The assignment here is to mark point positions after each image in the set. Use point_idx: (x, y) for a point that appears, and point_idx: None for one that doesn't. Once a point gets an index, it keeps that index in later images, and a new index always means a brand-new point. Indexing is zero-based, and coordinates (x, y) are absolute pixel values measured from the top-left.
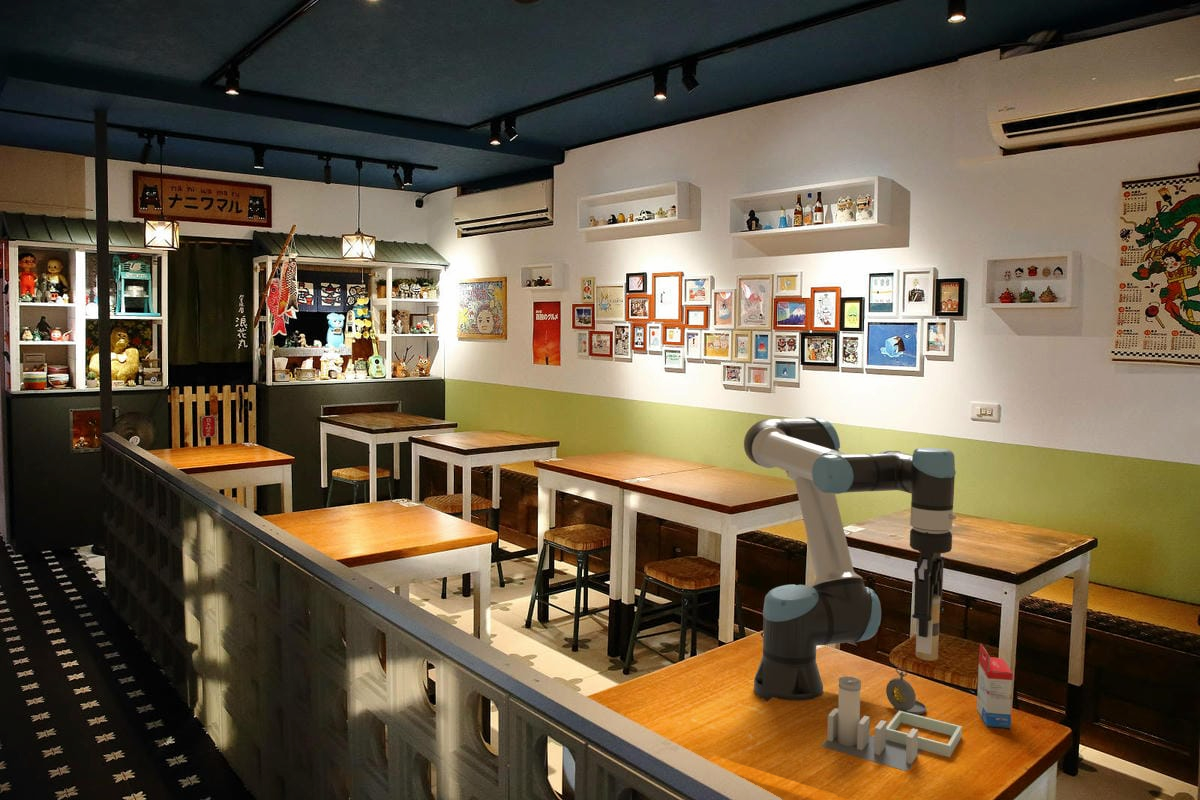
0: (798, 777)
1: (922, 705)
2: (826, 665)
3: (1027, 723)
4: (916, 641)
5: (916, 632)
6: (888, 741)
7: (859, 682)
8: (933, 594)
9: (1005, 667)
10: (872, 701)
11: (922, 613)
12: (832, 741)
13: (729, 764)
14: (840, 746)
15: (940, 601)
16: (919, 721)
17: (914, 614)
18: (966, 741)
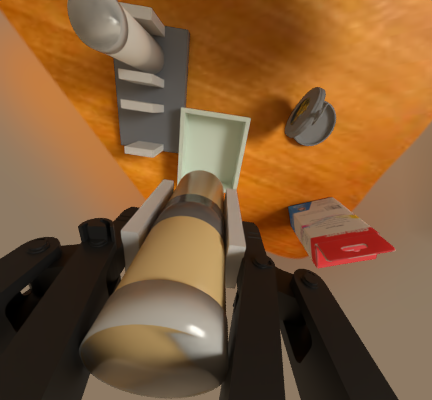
0: (33, 5)
1: (321, 139)
2: None
3: None
4: (154, 190)
5: (146, 200)
6: (180, 113)
7: (101, 46)
8: (202, 381)
9: (335, 262)
10: (327, 64)
11: (29, 285)
12: None
13: None
14: None
15: (281, 330)
16: (240, 146)
17: (16, 250)
18: (243, 190)
